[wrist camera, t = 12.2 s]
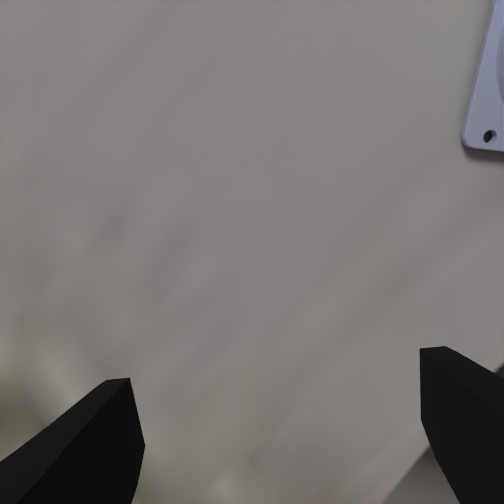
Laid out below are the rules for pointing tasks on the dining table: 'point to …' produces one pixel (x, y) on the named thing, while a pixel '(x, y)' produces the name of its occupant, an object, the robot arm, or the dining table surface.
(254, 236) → the dining table surface
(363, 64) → the dining table surface
